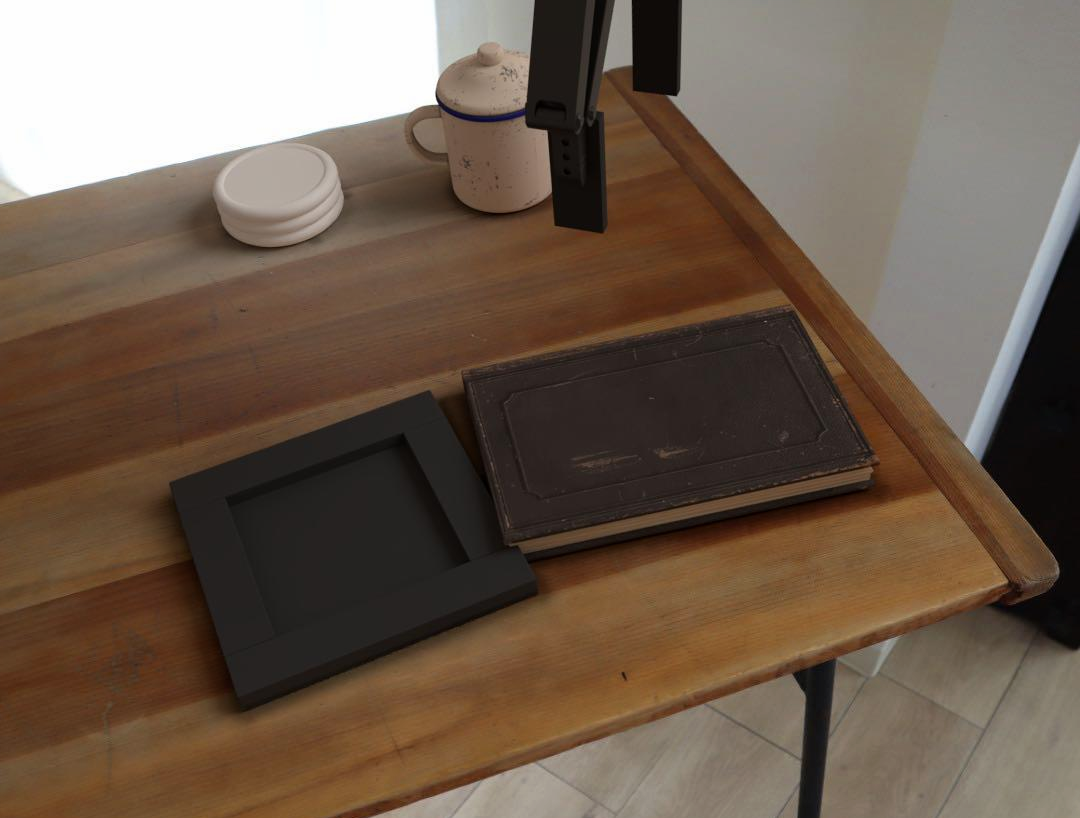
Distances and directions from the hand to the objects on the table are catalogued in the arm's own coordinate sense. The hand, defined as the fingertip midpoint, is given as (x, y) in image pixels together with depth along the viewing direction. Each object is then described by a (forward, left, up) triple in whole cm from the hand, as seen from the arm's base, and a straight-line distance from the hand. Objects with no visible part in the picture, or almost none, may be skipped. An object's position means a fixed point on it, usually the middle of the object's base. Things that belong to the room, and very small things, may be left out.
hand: (621, 154), depth 66 cm
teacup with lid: (-27, +1, -18) cm, 33 cm away
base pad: (+4, -21, -18) cm, 28 cm away
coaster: (-32, -15, -18) cm, 40 cm away
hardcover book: (+5, 0, -18) cm, 19 cm away
